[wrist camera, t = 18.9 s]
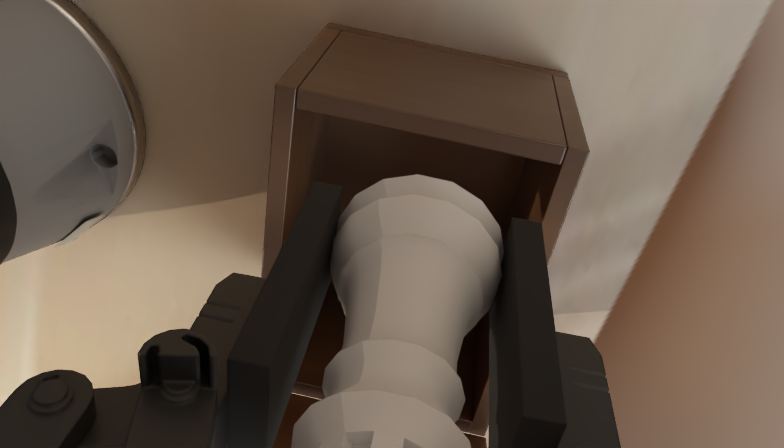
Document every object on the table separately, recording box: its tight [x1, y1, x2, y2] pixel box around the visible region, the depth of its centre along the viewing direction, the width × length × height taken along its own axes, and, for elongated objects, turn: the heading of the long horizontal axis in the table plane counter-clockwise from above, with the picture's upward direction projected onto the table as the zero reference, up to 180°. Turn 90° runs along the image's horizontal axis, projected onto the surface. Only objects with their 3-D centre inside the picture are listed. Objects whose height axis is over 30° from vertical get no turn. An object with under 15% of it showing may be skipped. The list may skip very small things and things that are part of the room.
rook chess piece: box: [291, 174, 504, 448], centre depth 14 cm, size 4×4×8 cm
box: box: [261, 23, 590, 436], centre depth 31 cm, size 16×12×9 cm
